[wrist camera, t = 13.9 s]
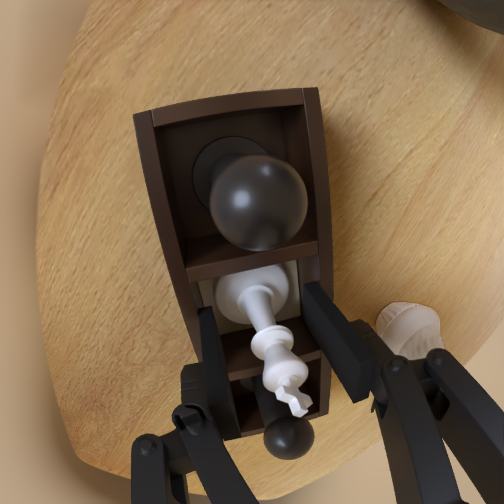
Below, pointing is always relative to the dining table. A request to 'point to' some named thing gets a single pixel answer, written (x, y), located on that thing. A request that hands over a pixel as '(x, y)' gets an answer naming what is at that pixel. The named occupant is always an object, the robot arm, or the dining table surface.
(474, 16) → the bowl
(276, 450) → the ebony piece
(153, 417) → the dining table surface
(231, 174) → the ebony piece
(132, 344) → the dining table surface
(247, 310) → the chess piece
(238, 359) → the rack
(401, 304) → the muffin
